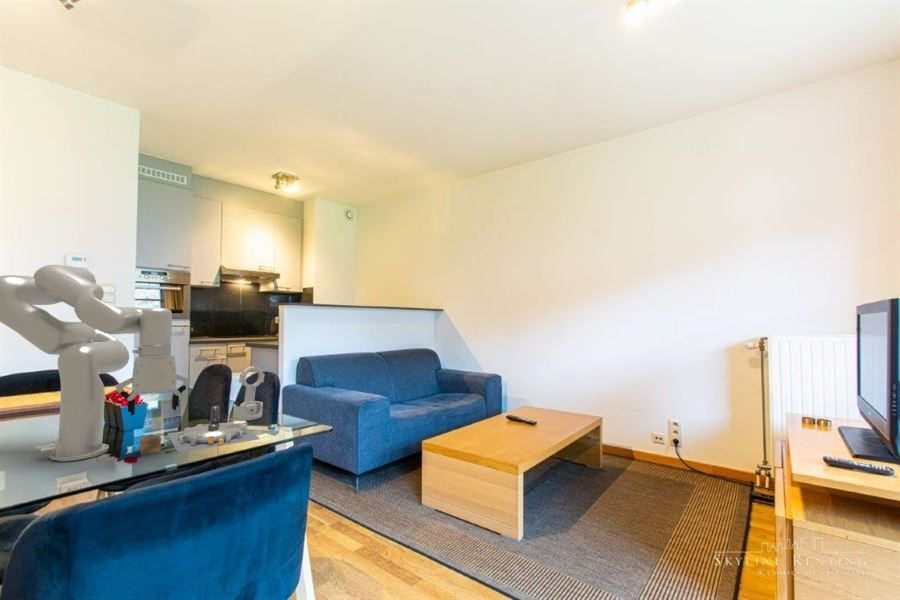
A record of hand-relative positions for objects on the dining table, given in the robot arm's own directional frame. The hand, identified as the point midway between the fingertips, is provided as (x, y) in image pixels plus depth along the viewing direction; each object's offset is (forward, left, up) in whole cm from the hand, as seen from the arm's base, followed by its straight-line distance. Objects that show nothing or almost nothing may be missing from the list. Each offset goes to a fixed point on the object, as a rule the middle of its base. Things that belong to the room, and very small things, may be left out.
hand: (153, 411), depth 118 cm
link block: (0, 0, -13) cm, 13 cm away
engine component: (+33, +26, -13) cm, 44 cm away
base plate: (+17, +7, -13) cm, 22 cm away
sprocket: (+17, +6, -11) cm, 21 cm away
